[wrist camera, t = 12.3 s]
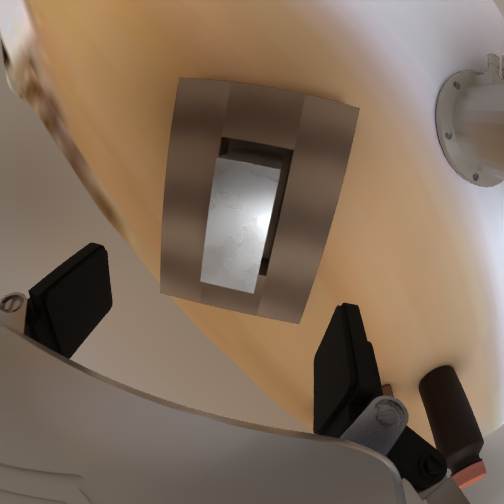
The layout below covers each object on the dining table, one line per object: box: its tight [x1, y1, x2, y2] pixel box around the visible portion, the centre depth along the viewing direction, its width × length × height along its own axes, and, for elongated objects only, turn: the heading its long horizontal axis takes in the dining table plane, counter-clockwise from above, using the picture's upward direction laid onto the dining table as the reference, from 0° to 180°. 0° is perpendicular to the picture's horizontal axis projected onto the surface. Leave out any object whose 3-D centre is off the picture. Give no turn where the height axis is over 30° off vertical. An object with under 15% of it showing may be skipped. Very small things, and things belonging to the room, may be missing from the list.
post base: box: [160, 78, 360, 324], centre depth 25 cm, size 20×14×4 cm
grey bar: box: [200, 148, 283, 294], centre depth 22 cm, size 9×4×8 cm, turn 170°
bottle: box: [419, 367, 486, 489], centre depth 26 cm, size 7×7×20 cm
